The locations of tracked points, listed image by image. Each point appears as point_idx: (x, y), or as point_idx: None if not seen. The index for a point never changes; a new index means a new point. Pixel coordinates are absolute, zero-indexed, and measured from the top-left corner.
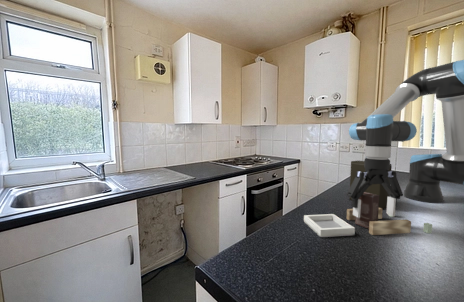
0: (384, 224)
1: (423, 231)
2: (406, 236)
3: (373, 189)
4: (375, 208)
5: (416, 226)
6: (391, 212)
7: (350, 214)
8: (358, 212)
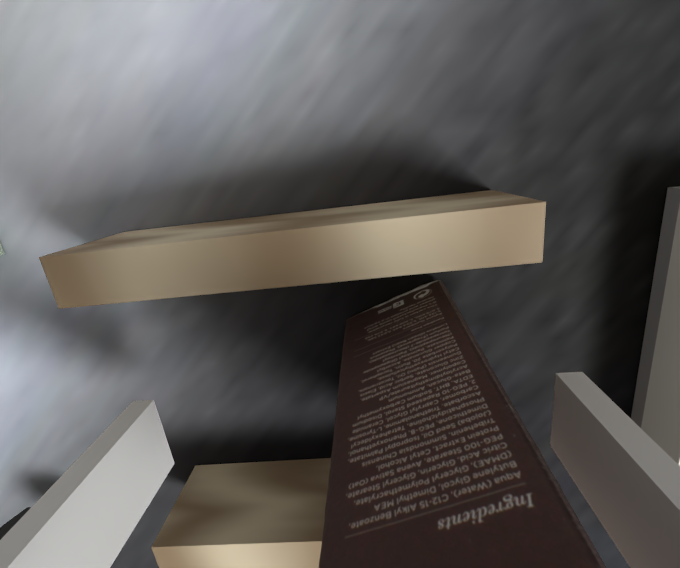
0: (383, 215)
1: (3, 251)
2: (201, 165)
3: None
4: (412, 434)
5: (7, 338)
6: (138, 440)
7: None
8: (624, 413)
